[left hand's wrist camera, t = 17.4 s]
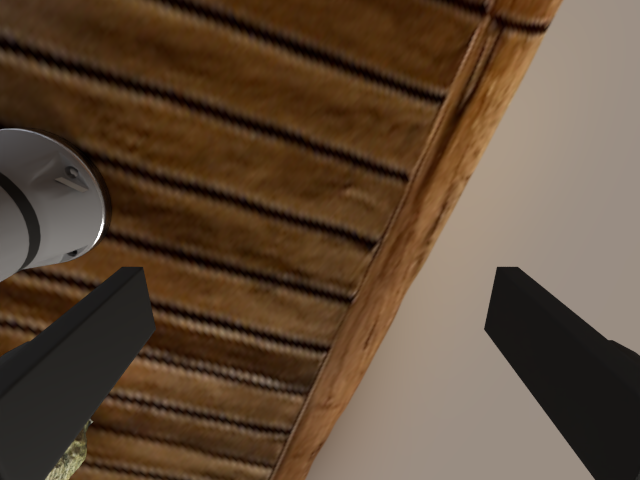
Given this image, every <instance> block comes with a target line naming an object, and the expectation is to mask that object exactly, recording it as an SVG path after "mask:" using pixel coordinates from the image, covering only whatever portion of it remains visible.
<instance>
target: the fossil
mask: <svg viewBox="0 0 640 480" xmlns="http://www.w3.org/2000/svg"><path fill="white" fill-rule="evenodd" d="M92 422H93V421H92V420H91V419H89V421H88V422H87V423H86V425H85V426H84V427H83V429H82V430H81V431H80V433H79V434H78V435H77V437H76V438H75V440H74V441H73V442H72V444H71V445H70V446H69V448H68V449H67V450H66V452H65V453H64V454H63V456H62V457H61V458H60V460H59V461H58V463H57V464H56V465H55V467H54V468H53V469H52V471H51V472H50V473H49V475H48V476H47V477H46V479H45V480H68V479H69V478H70V477H71V475H72V474H73V473H74V472H75V471H76V470H77V469H78V468H79V466H80V465H81V464H82V462H83V461H84V460H85V458H86V453H87V445H86V443H87V438H86V434H85V433H86V431H87V429H88V427H89V425H90V424H91V423H92Z"/></svg>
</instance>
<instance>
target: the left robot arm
mask: <svg viewBox="0 0 640 480" xmlns="http://www.w3.org/2000/svg"><path fill="white" fill-rule="evenodd" d="M111 214H112V211H111V200H110V195H109V192H108V189H107V186H106V184H105V182H104V180H103V178H102V176H101V174H100V173H99V171H98V169H97V168H96V167H95V165H94V164H93V163H92V162H91V161H90V159H89V158H88V157H87V156H86V155H85V154H84V153H83V152H81V151H80V150H79V149H78V148H77V147H75V146H74V145H73V144H71V143H70V142H68V141H66V140H65V139H63V138H61V137H59V136H57V135H54V134H52V133H50V132H46V131H43V130H39V129H33V128H11V129H0V282H1V281H3V280H4V279H6V278H8V277H10V276H11V275H13V274H15V273H17V272H18V271H20V270H22V269H27V268H33V267H39V266H45V265H51V264H57V263H62V262H67V261H71V260H73V259H76V258H78V257H80V256H82V255H83V254H85V253H87V252H88V251H90V250H91V249H93V248H94V247H96V246H97V245H98V244H99V243H100V242H101V240H102V239H103V238H104V236H105V235H106V233H107V231H108V228H109V225H110V221H111ZM155 330H156V328H155V323H154V318H153V313H152V308H151V303H150V299H149V294H148V289H147V284H146V279H145V275H144V270H143V267H122V268H120V269H119V270H118V271H117V272H115V273H114V274H113V275H112V276H110V277H109V278H108V279H107V280H105V281H104V282H103V283H102V284H101V285H99V286H98V287H97V288H96V289H94V290H93V291H92V292H91V293H89V294H88V295H87V296H86V297H85V298H83V299H82V300H81V301H80V302H78V303H77V304H76V305H75V306H73V307H72V308H71V309H70V310H68V311H67V312H66V313H65V314H64V315H62V316H61V317H60V318H59V319H57V320H56V321H55V322H54V323H52V324H51V325H50V326H49V327H47V328H46V329H45V330H44V331H43V332H41V333H40V334H39V335H38V336H36V337H35V338H34V339H33V340H31V341H30V342H26V343H24V344H22V345H20V346H18V347H16V348H15V349H13V350H11V351H9V352H7V353H5V354H4V355H3V356H1V357H0V480H45V479H46V477H47V476H48V475H49V473H50V472H51V471H52V469H53V468H54V467H55V465H56V464H57V463H58V461H59V460H60V458H61V457H62V456H63V454H64V453H65V452H66V450H67V449H68V448H69V446H70V445H71V444H72V442H73V441H74V440H75V438H76V437H77V435H78V434H79V433H80V431H81V430H82V429H83V427H84V426H85V425H86V423H87V422H88V421H89V419H90V418H91V416H92V415H93V414H94V412H95V411H96V410H97V408H98V407H99V406H100V404H101V403H102V402H103V400H104V399H105V397H106V396H107V395H108V393H109V392H110V391H111V389H112V388H113V387H114V385H115V384H116V383H117V381H118V380H119V378H120V377H121V376H122V374H123V373H124V372H125V370H126V369H127V368H128V366H129V365H130V364H131V362H132V361H133V360H134V358H135V357H136V355H137V354H138V353H139V351H140V350H141V349H142V347H143V346H144V345H145V343H146V342H147V341H148V339H149V338H150V336H151V335H152V334H153V332H154V331H155ZM484 330H485V331H486V332H487V334H488V335H489V336H490V338H491V339H492V341H493V342H494V343H495V345H496V346H497V347H498V349H499V350H500V351H501V353H502V354H503V355H504V357H505V358H506V359H507V361H508V362H509V363H510V365H511V366H512V368H513V369H514V370H515V372H516V373H517V374H518V376H519V377H520V378H521V380H522V381H523V383H524V384H525V385H526V387H527V388H528V389H529V391H530V392H531V393H532V395H533V396H534V397H535V399H536V400H537V402H538V403H539V404H540V406H541V407H542V408H543V410H544V411H545V412H546V414H547V415H548V416H549V418H550V419H551V420H552V422H553V423H554V425H555V426H556V427H557V429H558V430H559V431H560V433H561V434H562V435H563V437H564V438H565V439H566V441H567V442H568V443H569V445H570V446H571V448H572V449H573V450H574V452H575V453H576V454H577V456H578V457H579V458H580V460H581V461H582V463H583V464H584V465H585V467H586V468H587V469H588V471H589V472H590V473H591V475H592V476H593V477H594V479H595V480H640V356H639V355H638V354H637V353H636V352H634V351H632V350H630V349H628V348H626V347H624V346H622V345H621V344H619V343H617V342H615V341H613V340H607V339H606V338H605V337H604V336H602V335H601V334H600V333H599V332H597V331H596V330H595V329H594V328H593V327H591V326H590V325H589V324H588V323H586V322H585V321H584V320H583V319H581V318H580V317H579V316H578V315H576V314H575V313H574V312H573V311H572V310H570V309H569V308H568V307H566V306H565V305H564V304H563V303H562V302H560V301H559V300H558V299H557V298H555V297H554V296H553V295H552V294H551V293H549V292H548V291H547V290H546V289H544V288H543V287H542V286H541V285H539V284H538V283H537V282H536V281H535V280H533V279H532V278H531V277H530V276H528V275H527V274H526V273H525V272H523V271H522V270H521V269H520V268H518V267H497V270H496V275H495V279H494V284H493V289H492V294H491V299H490V303H489V308H488V313H487V318H486V323H485V328H484Z"/></svg>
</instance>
